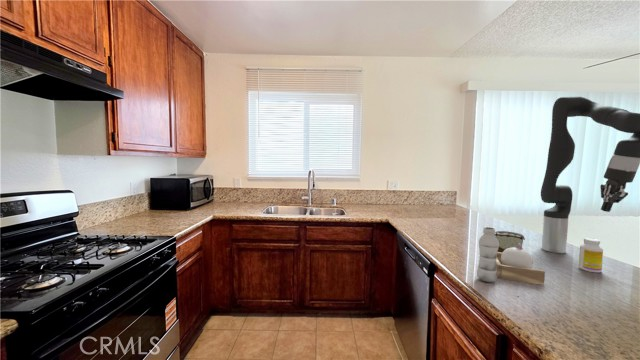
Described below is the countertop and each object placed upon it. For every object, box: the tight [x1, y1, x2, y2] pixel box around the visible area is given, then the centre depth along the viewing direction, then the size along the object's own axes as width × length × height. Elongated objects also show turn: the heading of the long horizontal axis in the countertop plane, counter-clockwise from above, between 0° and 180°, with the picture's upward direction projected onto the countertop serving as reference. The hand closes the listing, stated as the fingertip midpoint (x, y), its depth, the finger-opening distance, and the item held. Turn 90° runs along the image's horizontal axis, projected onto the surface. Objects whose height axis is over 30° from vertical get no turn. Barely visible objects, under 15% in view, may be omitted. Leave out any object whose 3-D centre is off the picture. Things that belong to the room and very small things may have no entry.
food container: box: [494, 230, 526, 253], centre depth 128 cm, size 12×6×10 cm, turn 58°
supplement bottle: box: [578, 237, 604, 274], centre depth 108 cm, size 7×7×13 cm
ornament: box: [501, 244, 534, 269], centre depth 105 cm, size 10×10×12 cm
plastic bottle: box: [476, 226, 499, 283], centre depth 98 cm, size 6×7×20 cm
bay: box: [496, 252, 546, 286], centre depth 105 cm, size 17×14×5 cm
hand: (605, 210), depth 103 cm, fingers closed
